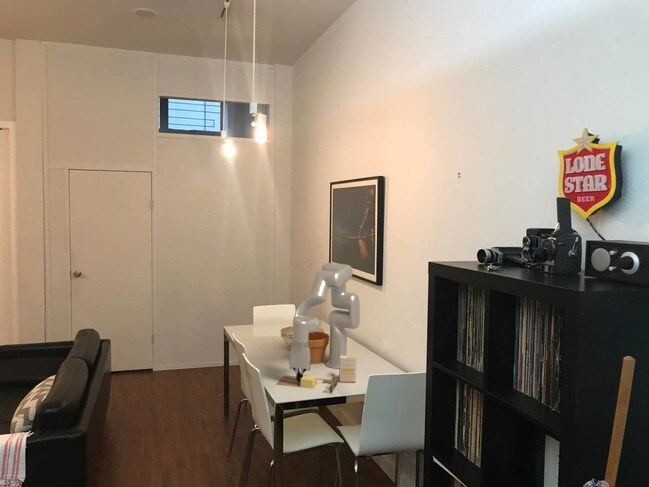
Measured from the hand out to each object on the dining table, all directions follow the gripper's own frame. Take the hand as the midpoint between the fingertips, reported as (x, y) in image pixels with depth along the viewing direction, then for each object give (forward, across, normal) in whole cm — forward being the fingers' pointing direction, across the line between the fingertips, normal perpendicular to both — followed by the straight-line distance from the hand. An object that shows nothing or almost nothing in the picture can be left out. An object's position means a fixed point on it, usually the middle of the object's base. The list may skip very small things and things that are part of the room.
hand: (299, 381), depth 252 cm
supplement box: (+3, +21, +15) cm, 26 cm away
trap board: (+3, +3, +3) cm, 5 cm away
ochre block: (+1, +5, -2) cm, 6 cm away
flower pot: (+3, -6, +45) cm, 46 cm away
